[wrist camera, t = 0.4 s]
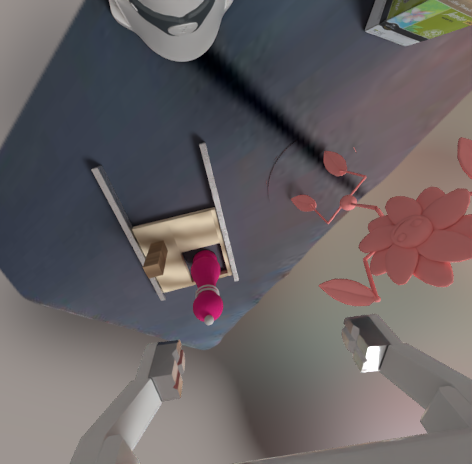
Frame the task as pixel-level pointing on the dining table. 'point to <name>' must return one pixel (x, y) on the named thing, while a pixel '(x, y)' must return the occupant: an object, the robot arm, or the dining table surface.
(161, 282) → the beige piece
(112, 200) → the runner track
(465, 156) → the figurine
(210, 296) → the pepper mill
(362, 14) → the dining table surface
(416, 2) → the tea box
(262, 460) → the robot arm
